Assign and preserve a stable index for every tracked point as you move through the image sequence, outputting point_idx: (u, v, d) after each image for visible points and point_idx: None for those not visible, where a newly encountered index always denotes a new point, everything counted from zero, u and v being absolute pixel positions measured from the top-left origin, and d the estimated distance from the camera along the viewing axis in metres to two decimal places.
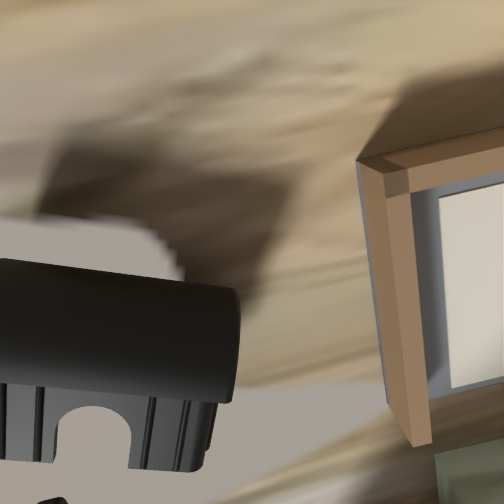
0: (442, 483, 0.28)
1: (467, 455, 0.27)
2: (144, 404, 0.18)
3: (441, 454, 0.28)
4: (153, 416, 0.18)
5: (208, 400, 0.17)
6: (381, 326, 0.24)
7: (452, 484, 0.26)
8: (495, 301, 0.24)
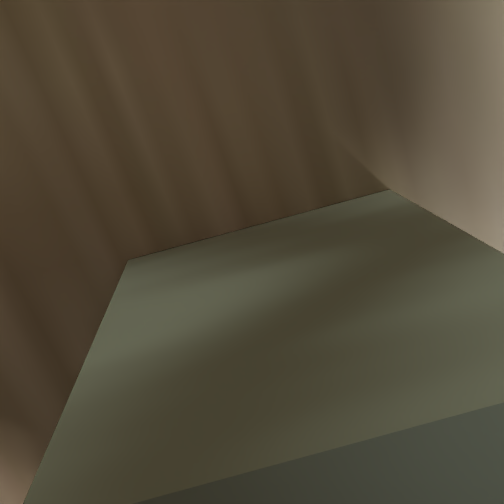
0: None
1: None
2: None
3: None
4: None
5: None
6: None
7: None
8: None
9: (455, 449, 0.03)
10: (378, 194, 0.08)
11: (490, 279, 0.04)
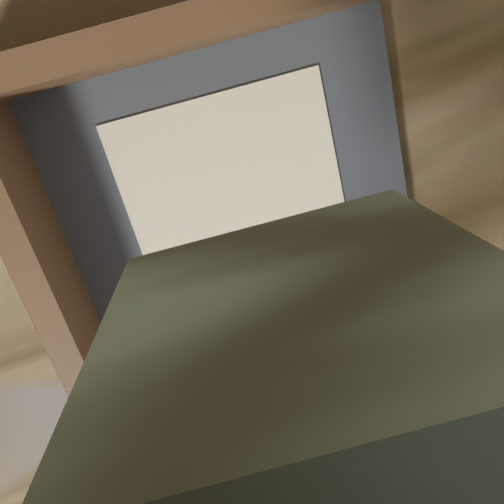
0: None
1: None
2: None
3: None
4: None
5: None
6: None
7: None
8: None
9: (462, 453, 0.03)
10: (380, 195, 0.07)
11: (495, 280, 0.04)
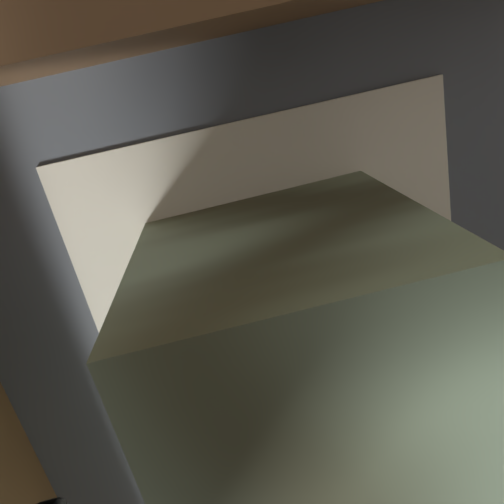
0: None
1: None
2: None
3: None
4: None
5: None
6: None
7: None
8: None
9: (372, 318, 0.05)
10: (350, 175, 0.09)
11: (416, 224, 0.06)
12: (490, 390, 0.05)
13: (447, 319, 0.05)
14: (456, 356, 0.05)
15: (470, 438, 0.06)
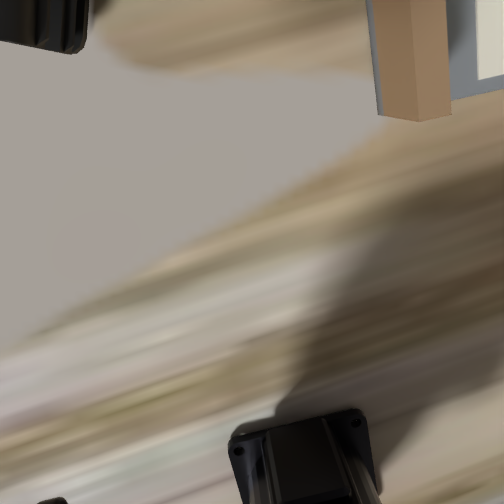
0: None
1: None
2: None
3: None
4: None
5: None
6: None
7: None
8: None
9: None
10: None
11: None
12: None
13: None
14: None
15: None
